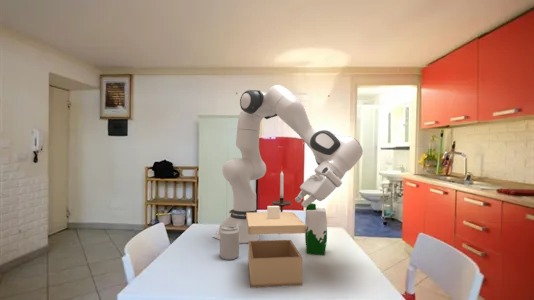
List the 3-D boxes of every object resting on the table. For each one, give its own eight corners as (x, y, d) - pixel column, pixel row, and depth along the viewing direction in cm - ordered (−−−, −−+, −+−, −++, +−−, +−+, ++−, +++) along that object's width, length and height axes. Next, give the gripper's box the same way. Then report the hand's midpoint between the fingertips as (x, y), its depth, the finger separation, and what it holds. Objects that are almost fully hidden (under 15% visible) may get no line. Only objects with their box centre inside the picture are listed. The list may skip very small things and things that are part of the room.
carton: (250, 287, 82) (251, 259, 82) (248, 264, 100) (248, 240, 100) (302, 285, 84) (302, 257, 84) (290, 262, 102) (290, 239, 102)
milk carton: (305, 247, 119) (306, 202, 119) (326, 249, 117) (326, 203, 117) (304, 254, 110) (304, 205, 111) (327, 256, 108) (327, 206, 109)
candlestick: (285, 231, 144) (286, 166, 144) (268, 228, 149) (268, 165, 150) (294, 227, 153) (294, 165, 154) (277, 224, 159) (278, 165, 159)
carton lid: (248, 234, 81) (248, 212, 82) (246, 219, 101) (246, 201, 101) (306, 233, 83) (306, 212, 84) (292, 218, 103) (292, 201, 103)
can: (241, 255, 109) (242, 225, 109) (233, 261, 102) (234, 230, 102) (225, 252, 112) (225, 223, 112) (216, 259, 104) (216, 228, 105)
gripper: (312, 167, 105) (287, 193, 103) (330, 170, 84) (299, 202, 83) (323, 179, 105) (299, 204, 104) (344, 184, 85) (314, 216, 83)
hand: (299, 203), depth 93 cm, fingers open, 8 cm apart
